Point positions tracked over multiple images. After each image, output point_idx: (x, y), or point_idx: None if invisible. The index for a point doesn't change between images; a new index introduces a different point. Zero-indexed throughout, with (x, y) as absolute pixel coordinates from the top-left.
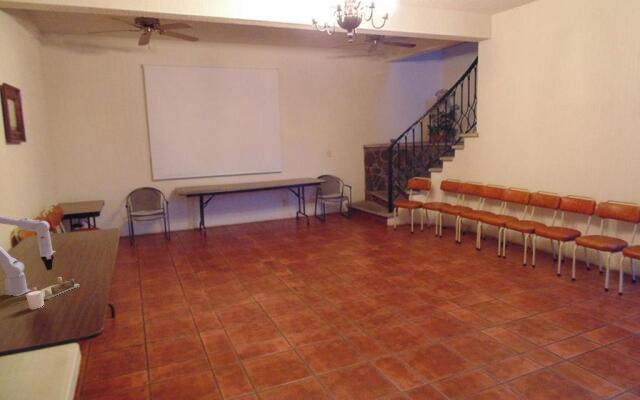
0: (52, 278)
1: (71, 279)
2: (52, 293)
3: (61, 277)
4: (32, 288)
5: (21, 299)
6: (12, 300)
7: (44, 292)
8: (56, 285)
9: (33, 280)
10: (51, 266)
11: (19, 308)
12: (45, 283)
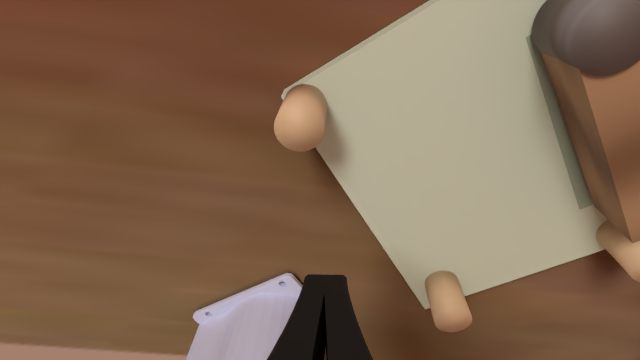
0: (21, 125)
1: (616, 23)
2: (588, 199)
3: (307, 105)
4: (457, 327)
5: (428, 322)
6: (398, 349)
7: (483, 237)
8: (634, 198)
9: (12, 237)
10: (353, 314)
11: (598, 342)
12: (154, 186)
